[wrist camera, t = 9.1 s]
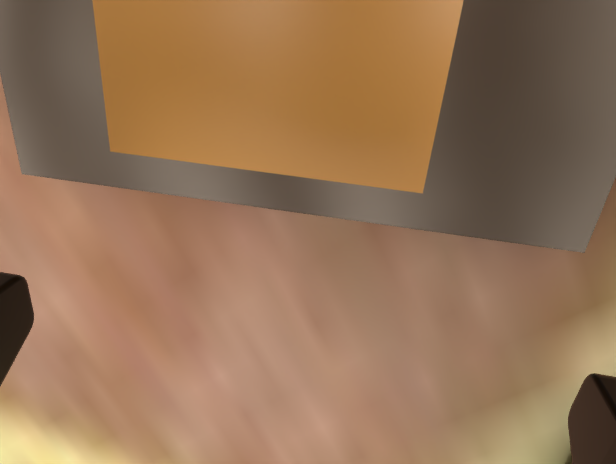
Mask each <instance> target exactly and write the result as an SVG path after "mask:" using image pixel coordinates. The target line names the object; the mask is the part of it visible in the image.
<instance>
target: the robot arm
mask: <svg viewBox="0 0 616 464" xmlns="http://www.w3.org/2000/svg"><path fill="white" fill-rule="evenodd" d="M33 321H34V312H33V307H32V303H31V298H30V293H29V288H28V284H27V281H26V280H25V278H24V277H22V276H20V275H15V274H9V273H3V272H0V386H1V384H2V382H3V380H4V379H5V377H6V375H7V373H8V371H9V369H10V367H11V366H12V364H13V362H14V360H15V358H16V356H17V354H18V353H19V351H20V349H21V347H22V345H23V343H24V341H25V340H26V338H27V336H28V334H29V332H30V330H31V328H32V325H33ZM568 428H569V436H570V445H571V454H572V463H573V464H616V377H612V376H607V375H601V374H590V375H588V376H587V377H586V378H585V380H584V382H583V384H582V386H581V388H580V390H579V392H578V394H577V396H576V398H575V400H574V402H573V404H572V406H571V409H570V412H569V417H568Z"/></svg>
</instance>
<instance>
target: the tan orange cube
mask: <svg viewBox="0 0 616 464" xmlns="http://www.w3.org/2000/svg"><path fill="white" fill-rule="evenodd" d="M463 1H464V0H92V2H93V10H94V18H95V27H96V35H97V44H98V52H99V61H100V69H101V78H102V86H103V94H104V103H105V111H106V120H107V128H108V137H109V145H110V152H118V153H125V154H132V155H140V156H147V157H155V158H162V159H170V160H177V161H185V162H192V163H200V164H207V165H214V166H222V167H229V168H237V169H244V170H252V171H259V172H267V173H274V174H281V175H289V176H296V177H304V178H311V179H319V180H326V181H334V182H341V183H348V184H356V185H363V186H371V187H378V188H386V189H393V190H401V191H408V192H415V193H423V190H424V185H425V180H426V175H427V171H428V166H429V161H430V157H431V152H432V147H433V143H434V138H435V133H436V128H437V124H438V119H439V114H440V110H441V105H442V100H443V95H444V91H445V86H446V81H447V77H448V72H449V67H450V62H451V58H452V53H453V48H454V44H455V39H456V34H457V29H458V25H459V20H460V15H461V11H462V6H463Z"/></svg>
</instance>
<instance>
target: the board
mask: <svg viewBox="0 0 616 464" xmlns="http://www.w3.org/2000/svg"><path fill="white" fill-rule="evenodd" d="M0 74H1V79H2V83H3V88H4V93H5V97H6V102H7V107H8V112H9V116H10V121H11V126H12V130H13V135H14V140H15V144H16V149H17V154H18V158H19V163H20V168H21V172H22V174H25V175H33V176H40V177H47V178H54V179H61V180H68V181H75V182H83V183H90V184H97V185H104V186H111V187H118V188H125V189H133V190H140V191H147V192H154V193H161V194H168V195H175V196H183V197H190V198H197V199H204V200H211V201H218V202H225V203H233V204H240V205H247V206H254V207H261V208H268V209H275V210H283V211H290V212H297V213H304V214H311V215H318V216H325V217H332V218H340V219H347V220H354V221H361V222H368V223H375V224H382V225H390V226H397V227H404V228H411V229H418V230H425V231H432V232H440V233H447V234H454V235H461V236H468V237H475V238H482V239H490V240H497V241H504V242H511V243H518V244H525V245H532V246H540V247H547V248H554V249H561V250H568V251H575V252H582V253H584V252H585V250H586V247H587V245H588V243H589V240H590V238H591V235H592V233H593V231H594V228H595V226H596V223H597V221H598V218H599V216H600V214H601V211H602V209H603V206H604V204H605V202H606V199H607V197H608V194H609V192H610V189H611V187H612V185H613V182H614V180H615V177H616V0H464V1H463V6H462V11H461V15H460V20H459V25H458V29H457V34H456V39H455V44H454V48H453V53H452V58H451V62H450V67H449V72H448V77H447V81H446V86H445V91H444V95H443V100H442V105H441V110H440V114H439V119H438V124H437V128H436V133H435V138H434V143H433V147H432V152H431V157H430V161H429V166H428V171H427V175H426V180H425V185H424V190H423V193H415V192H408V191H401V190H393V189H386V188H378V187H371V186H363V185H356V184H348V183H341V182H334V181H326V180H319V179H311V178H304V177H296V176H289V175H281V174H274V173H267V172H259V171H252V170H244V169H237V168H229V167H222V166H214V165H207V164H200V163H192V162H185V161H177V160H170V159H162V158H155V157H147V156H140V155H132V154H125V153H118V152H110V145H109V137H108V128H107V120H106V111H105V103H104V94H103V86H102V78H101V69H100V61H99V52H98V44H97V35H96V27H95V18H94V10H93V2H92V0H0Z"/></svg>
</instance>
